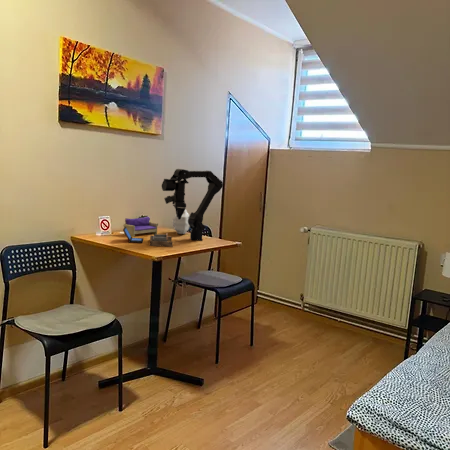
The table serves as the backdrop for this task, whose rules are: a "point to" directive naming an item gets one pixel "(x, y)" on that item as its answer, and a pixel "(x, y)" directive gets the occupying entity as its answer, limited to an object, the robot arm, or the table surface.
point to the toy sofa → (140, 226)
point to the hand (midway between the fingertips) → (178, 218)
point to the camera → (181, 223)
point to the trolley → (160, 237)
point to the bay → (161, 242)
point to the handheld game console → (131, 240)
